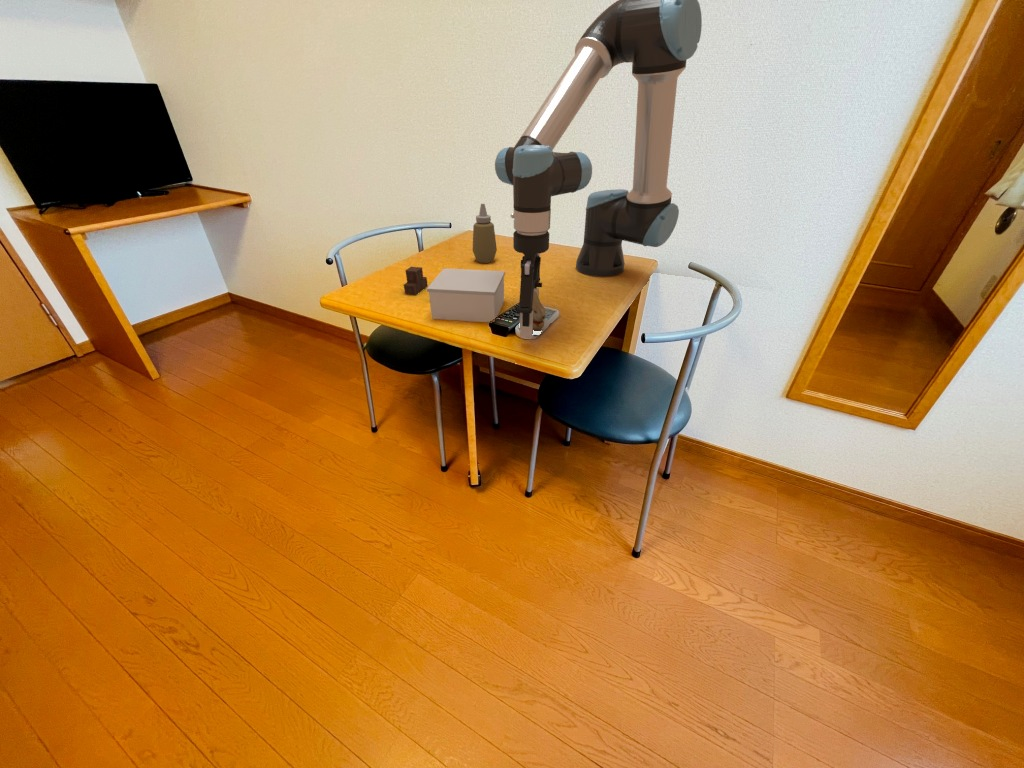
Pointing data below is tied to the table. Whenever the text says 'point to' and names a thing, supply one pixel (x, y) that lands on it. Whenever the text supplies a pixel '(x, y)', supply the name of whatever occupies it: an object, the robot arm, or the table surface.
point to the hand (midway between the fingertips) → (529, 325)
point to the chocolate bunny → (537, 313)
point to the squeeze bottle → (484, 237)
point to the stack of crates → (415, 281)
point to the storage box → (467, 295)
